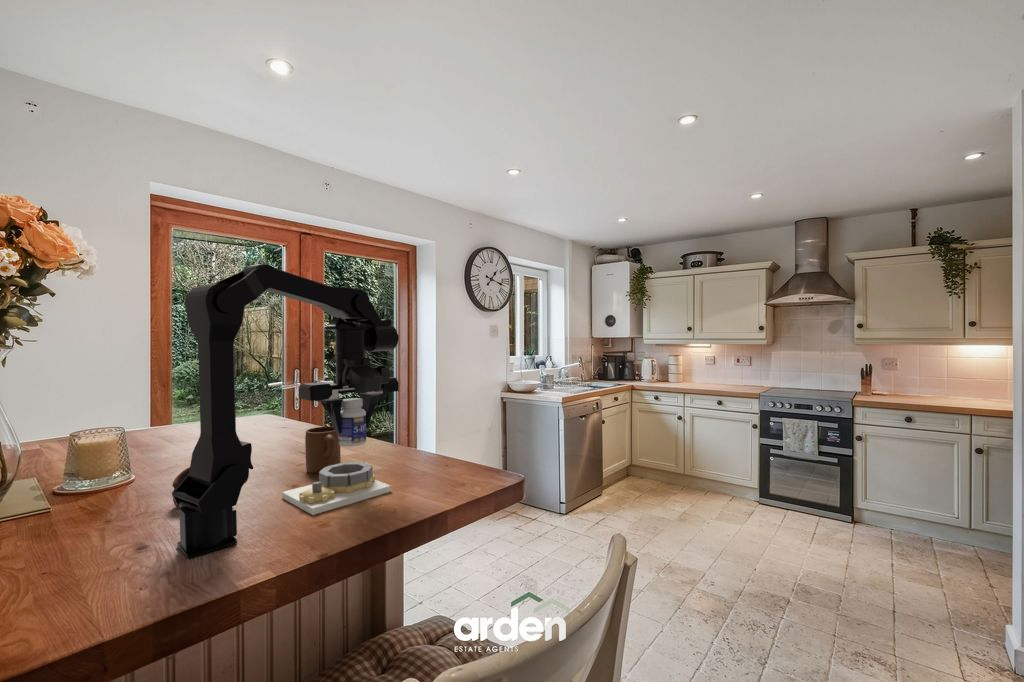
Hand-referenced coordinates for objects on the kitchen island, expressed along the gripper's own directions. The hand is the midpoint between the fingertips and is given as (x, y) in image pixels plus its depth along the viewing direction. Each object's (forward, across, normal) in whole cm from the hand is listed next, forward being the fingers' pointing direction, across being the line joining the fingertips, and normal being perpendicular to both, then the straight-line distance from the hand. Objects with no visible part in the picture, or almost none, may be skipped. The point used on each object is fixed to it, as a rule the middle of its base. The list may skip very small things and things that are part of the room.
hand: (352, 430), depth 95 cm
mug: (+13, +3, +18) cm, 22 cm away
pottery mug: (+13, -22, +18) cm, 31 cm away
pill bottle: (+3, 0, 0) cm, 3 cm away
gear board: (+12, -3, +1) cm, 13 cm away
